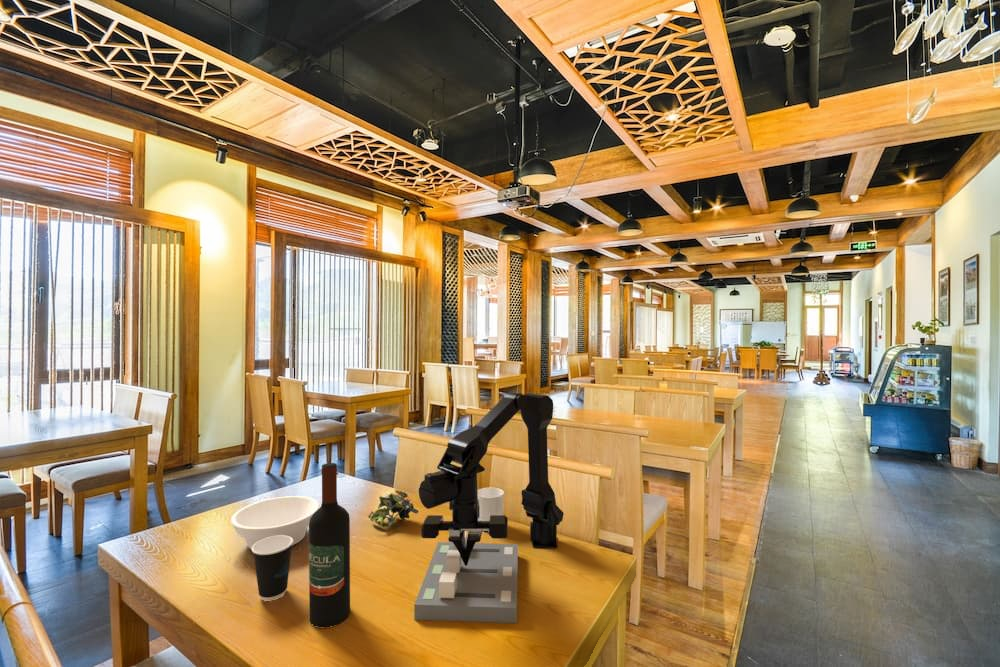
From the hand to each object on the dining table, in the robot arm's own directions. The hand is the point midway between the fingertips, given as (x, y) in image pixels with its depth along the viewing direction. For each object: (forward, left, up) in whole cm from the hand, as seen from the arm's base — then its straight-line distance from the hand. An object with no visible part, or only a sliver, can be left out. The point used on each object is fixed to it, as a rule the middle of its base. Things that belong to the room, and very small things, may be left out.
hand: (466, 564), depth 99 cm
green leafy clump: (+25, -28, -5) cm, 38 cm away
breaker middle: (+3, 0, -1) cm, 3 cm away
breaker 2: (+3, -9, -1) cm, 10 cm away
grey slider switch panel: (-1, 0, -4) cm, 5 cm away
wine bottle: (+26, +12, -5) cm, 29 cm away
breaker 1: (+3, +9, -1) cm, 9 cm away
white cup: (-3, -28, -5) cm, 29 cm away
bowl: (+53, -17, -5) cm, 55 cm away
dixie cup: (+41, +6, -5) cm, 41 cm away
